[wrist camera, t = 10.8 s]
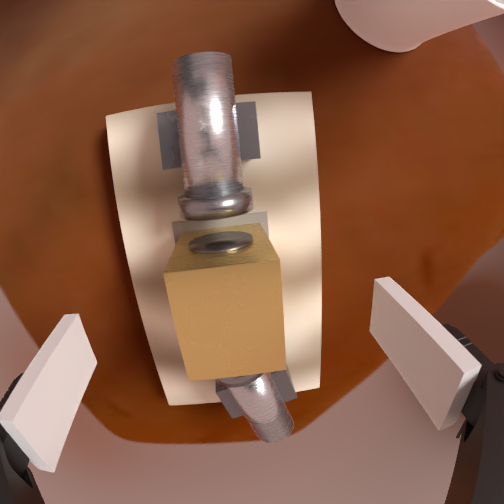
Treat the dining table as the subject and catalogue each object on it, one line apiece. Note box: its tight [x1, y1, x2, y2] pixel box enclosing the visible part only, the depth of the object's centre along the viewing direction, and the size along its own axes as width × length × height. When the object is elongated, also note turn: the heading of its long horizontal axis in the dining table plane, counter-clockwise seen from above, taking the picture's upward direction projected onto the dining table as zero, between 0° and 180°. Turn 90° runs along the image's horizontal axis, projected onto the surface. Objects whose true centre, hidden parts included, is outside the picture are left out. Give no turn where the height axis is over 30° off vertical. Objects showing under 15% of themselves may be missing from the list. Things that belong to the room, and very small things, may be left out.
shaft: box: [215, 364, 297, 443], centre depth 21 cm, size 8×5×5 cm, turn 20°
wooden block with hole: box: [163, 223, 286, 381], centre depth 18 cm, size 6×5×7 cm
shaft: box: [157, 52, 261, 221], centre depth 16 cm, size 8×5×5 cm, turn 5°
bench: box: [106, 92, 322, 405], centre depth 22 cm, size 23×13×2 cm, turn 5°
